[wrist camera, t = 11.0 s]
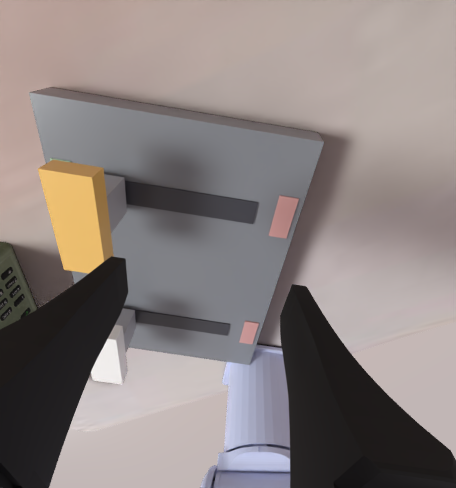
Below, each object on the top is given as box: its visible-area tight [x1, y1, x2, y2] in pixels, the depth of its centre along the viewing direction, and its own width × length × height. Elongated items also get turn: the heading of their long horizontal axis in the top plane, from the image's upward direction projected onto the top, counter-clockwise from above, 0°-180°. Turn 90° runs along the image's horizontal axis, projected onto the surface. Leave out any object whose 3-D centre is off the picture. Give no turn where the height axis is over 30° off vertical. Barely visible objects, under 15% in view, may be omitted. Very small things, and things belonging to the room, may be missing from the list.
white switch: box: [91, 308, 136, 385], centre depth 23 cm, size 2×6×4 cm, turn 172°
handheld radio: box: [0, 242, 37, 329], centre depth 29 cm, size 7×3×25 cm
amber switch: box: [38, 160, 127, 273], centre depth 16 cm, size 2×6×4 cm, turn 172°
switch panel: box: [29, 87, 324, 365], centre depth 23 cm, size 16×22×2 cm
